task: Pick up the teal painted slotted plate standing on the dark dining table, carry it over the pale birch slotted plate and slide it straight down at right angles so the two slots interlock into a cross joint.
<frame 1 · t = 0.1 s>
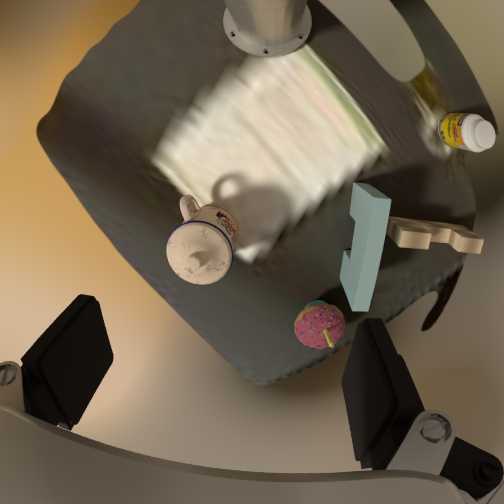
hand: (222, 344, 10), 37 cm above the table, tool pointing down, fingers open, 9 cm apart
cupcake: (317, 311, 53), on the table
teacup with lid: (208, 223, 48), on the table
teal slotted plate: (354, 232, 46), on the table
birch slotted plate: (426, 227, 45), on the table
supplement bottle: (449, 129, 38), on the table
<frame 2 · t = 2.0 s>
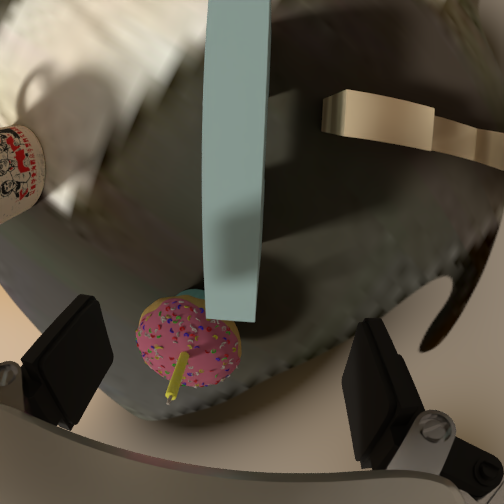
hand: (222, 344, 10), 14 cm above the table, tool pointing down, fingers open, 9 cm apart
cupcake: (199, 310, 27), on the table
teacup with lid: (15, 154, 22), on the table
teal slotted plate: (249, 137, 20), on the table
birch slotted plate: (422, 132, 19), on the table
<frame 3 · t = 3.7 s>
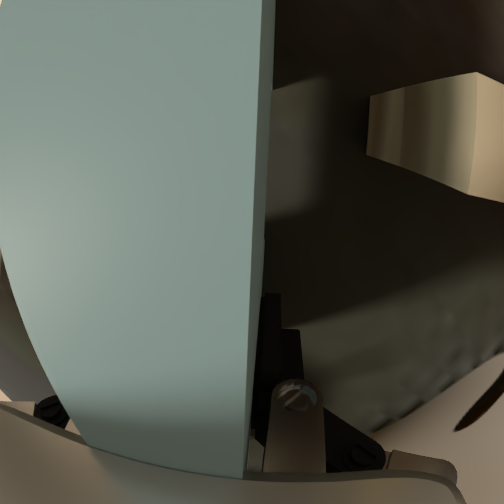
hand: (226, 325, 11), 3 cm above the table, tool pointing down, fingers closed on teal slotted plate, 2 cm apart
teal slotted plate: (237, 164, 11), on the table, touching gripper
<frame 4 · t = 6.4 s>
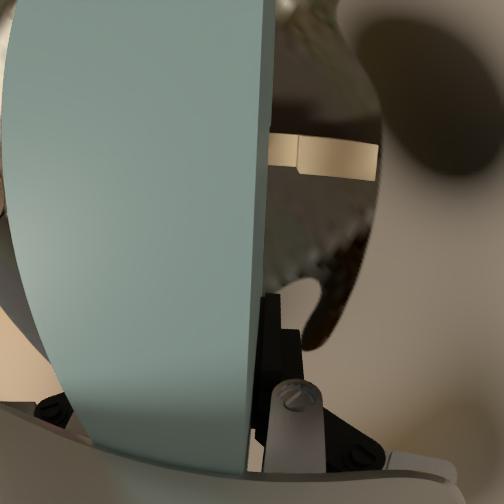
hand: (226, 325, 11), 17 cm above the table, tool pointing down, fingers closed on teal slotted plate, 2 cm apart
teal slotted plate: (237, 199, 12), point 14 cm above the table, touching gripper
birch slotted plate: (258, 145, 25), on the table
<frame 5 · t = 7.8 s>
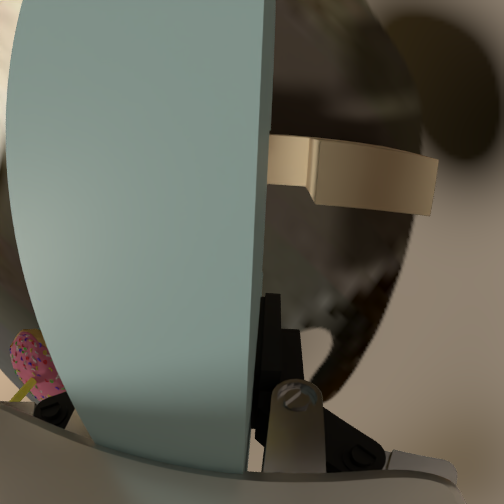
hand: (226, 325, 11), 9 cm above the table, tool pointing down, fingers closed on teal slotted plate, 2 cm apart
cupcake: (71, 340, 25), on the table
teal slotted plate: (237, 203, 12), point 6 cm above the table, touching gripper
birch slotted plate: (250, 152, 17), on the table
when the fingers open (3 cm above the table, at t = 9.2 s): teal slotted plate stays where it is, on the table.
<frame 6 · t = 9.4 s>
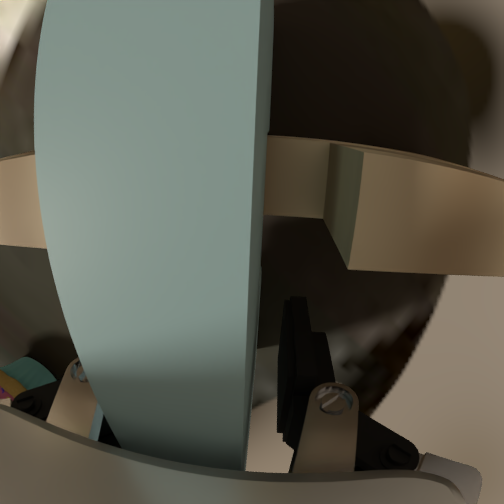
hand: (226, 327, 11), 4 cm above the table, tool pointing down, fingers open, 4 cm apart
cupcake: (42, 377, 20), on the table
teal slotted plate: (237, 200, 13), on the table
birch slotted plate: (239, 162, 12), on the table
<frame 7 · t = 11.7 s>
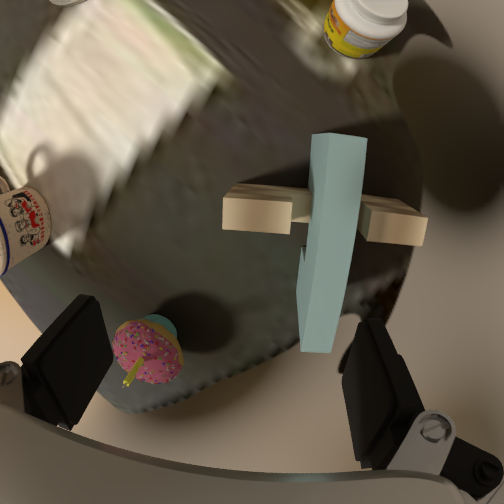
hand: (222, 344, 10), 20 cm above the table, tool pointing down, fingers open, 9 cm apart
cupcake: (160, 329, 36), on the table
teacup with lid: (27, 207, 32), on the table
teal slotted plate: (317, 218, 29), on the table
birch slotted plate: (319, 202, 28), on the table
supplement bottle: (350, 36, 22), on the table
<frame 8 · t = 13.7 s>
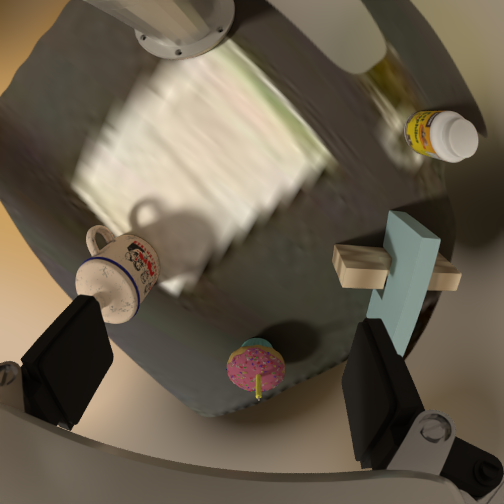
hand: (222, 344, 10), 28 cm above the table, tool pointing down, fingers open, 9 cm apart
cupcake: (258, 348, 46), on the table
teacup with lid: (129, 252, 41), on the table
teal slotted plate: (386, 267, 39), on the table
birch slotted plate: (389, 256, 38), on the table
supplement bottle: (420, 132, 32), on the table
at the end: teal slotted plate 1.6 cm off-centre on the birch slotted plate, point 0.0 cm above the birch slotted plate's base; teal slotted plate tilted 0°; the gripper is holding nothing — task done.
